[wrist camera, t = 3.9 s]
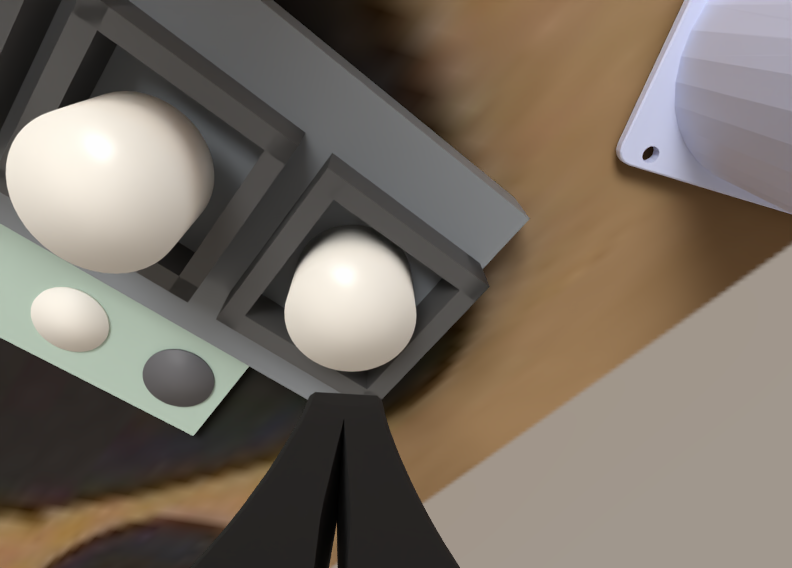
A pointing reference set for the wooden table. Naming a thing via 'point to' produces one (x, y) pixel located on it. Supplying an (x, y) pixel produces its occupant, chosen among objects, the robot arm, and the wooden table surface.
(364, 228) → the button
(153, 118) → the button middle
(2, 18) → the board
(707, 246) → the wooden table surface
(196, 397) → the card
